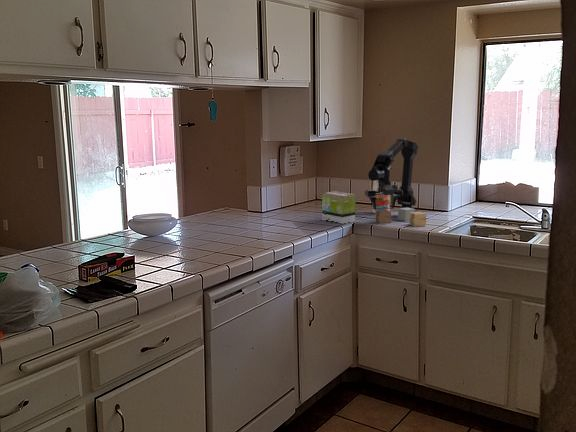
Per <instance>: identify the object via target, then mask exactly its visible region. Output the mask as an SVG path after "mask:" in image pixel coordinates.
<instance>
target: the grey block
mask: <svg viewBox="0 0 576 432" xmlns="http://www.w3.org/2000/svg"><path fill="white" fill-rule="evenodd" d="M397 210H398V211H397V219H399V220H398V221H402V220H403V222H410V212H416V209H415V208H413V207H412V208H408V207H407V208H401V207H399V208H398V209H397Z"/></svg>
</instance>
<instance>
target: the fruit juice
mask: <svg viewBox="0 0 576 432" xmlns="http://www.w3.org/2000/svg"><path fill="white" fill-rule="evenodd" d="M377 181H378V180H375V181H373V186H372V190H374V191H378V190H377V188H378V182H377ZM380 193H381V192H380ZM375 197H376V210H389V211H391V210H390V208H391V195H384V194H381V195H375ZM371 209H372V213H373V214H374V213H375V214H374V215H376V210H374V207H373V206H372V208H371Z"/></svg>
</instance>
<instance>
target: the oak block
mask: <svg viewBox="0 0 576 432" xmlns="http://www.w3.org/2000/svg"><path fill="white" fill-rule="evenodd" d="M411 224H412V225H411ZM409 225H411V226H413V225H414V226H413V227H426V226H427V213H425V212H422V211H415V212H410V221H409ZM425 225H426V226H425Z"/></svg>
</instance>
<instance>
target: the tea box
mask: <svg viewBox="0 0 576 432" xmlns="http://www.w3.org/2000/svg"><path fill="white" fill-rule="evenodd" d="M321 196H322V197H321V202H322V203H321V205H322V206H321V208H322V209H321V210H322V213H321V217H322V218H321V220H322V221H326V220H328V222H331V221H334V222H333V223H335V222H338V223H337V224H339V223H342V224H341V225H344V224H343V223H346V224H349V223H348V222H351V223H354V221H355V222H356V196H357V195H356V194H355V193H349V192H342V191H337V190H334V191H328V192H322V195H321Z"/></svg>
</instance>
